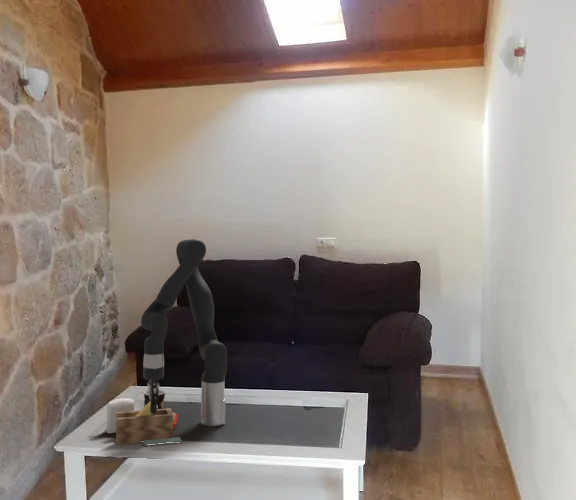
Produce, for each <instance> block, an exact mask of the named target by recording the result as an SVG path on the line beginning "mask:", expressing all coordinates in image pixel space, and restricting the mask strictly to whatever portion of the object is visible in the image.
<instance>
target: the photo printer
mask: <svg viewBox="0 0 576 500" xmlns="http://www.w3.org/2000/svg"><path fill="white" fill-rule="evenodd" d="M134 402H135V401H134V400H133V399H132V398H125V397H124V398H116V399H112V400H111V401H109V402H108V403H107V408H106V414H107V415H106V433H107V434H116V412H126V411H135V403H134Z"/></svg>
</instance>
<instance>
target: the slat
mask: <svg viewBox="0 0 576 500" xmlns="http://www.w3.org/2000/svg"><path fill="white" fill-rule="evenodd" d="M157 408H158V406H157ZM139 411H140V410H139ZM152 414H153V413H151V403H150V402H149V403H148V404H147V405H146V406H145V405H144V407H143V408H142V409H141V411H140V412H139V413H138V414H137V415H136V416H135V417H137V416H150V415H152Z"/></svg>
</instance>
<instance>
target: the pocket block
mask: <svg viewBox="0 0 576 500" xmlns="http://www.w3.org/2000/svg"><path fill="white" fill-rule="evenodd" d="M141 410H142V409H141ZM141 410H134V411H126V412H116V433H115V435H116V437H115V438H116V440H115V441H116V445H124V444H123V443H127V444H134V443H135V442H138V443H142V442H141V441H144V440H152V439H164V438H174V429H173V417H174V415H173V413H174V412H173V411H172V408H171V407H170V408H163V409H157V412H156V413H153V414H152V415H150V416H137V417H135V416H136V415H137V414H138V413H139V412H140V411H141ZM172 412H173V413H172ZM135 444H136V443H135Z"/></svg>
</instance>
